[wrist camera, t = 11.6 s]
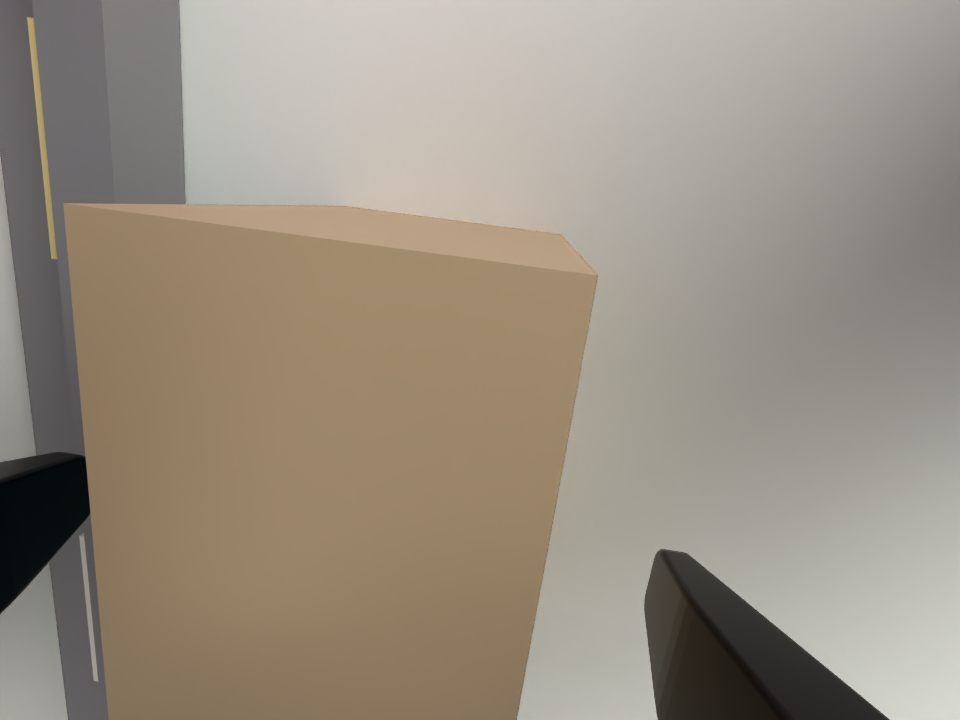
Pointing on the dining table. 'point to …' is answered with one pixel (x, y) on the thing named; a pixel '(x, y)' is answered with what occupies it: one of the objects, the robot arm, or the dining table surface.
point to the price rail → (42, 235)
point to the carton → (320, 455)
